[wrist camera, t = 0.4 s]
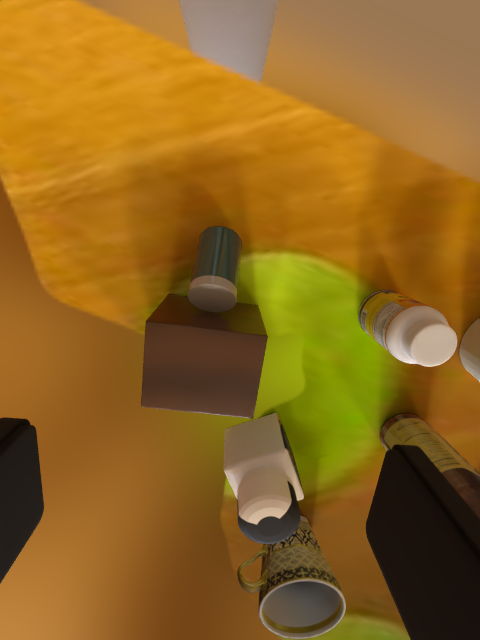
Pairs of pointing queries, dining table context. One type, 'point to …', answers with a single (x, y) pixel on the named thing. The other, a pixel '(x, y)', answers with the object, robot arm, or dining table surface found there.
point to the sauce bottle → (435, 454)
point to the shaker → (216, 270)
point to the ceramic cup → (296, 587)
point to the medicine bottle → (263, 479)
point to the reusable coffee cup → (471, 349)
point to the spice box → (203, 358)
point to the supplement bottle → (407, 328)
